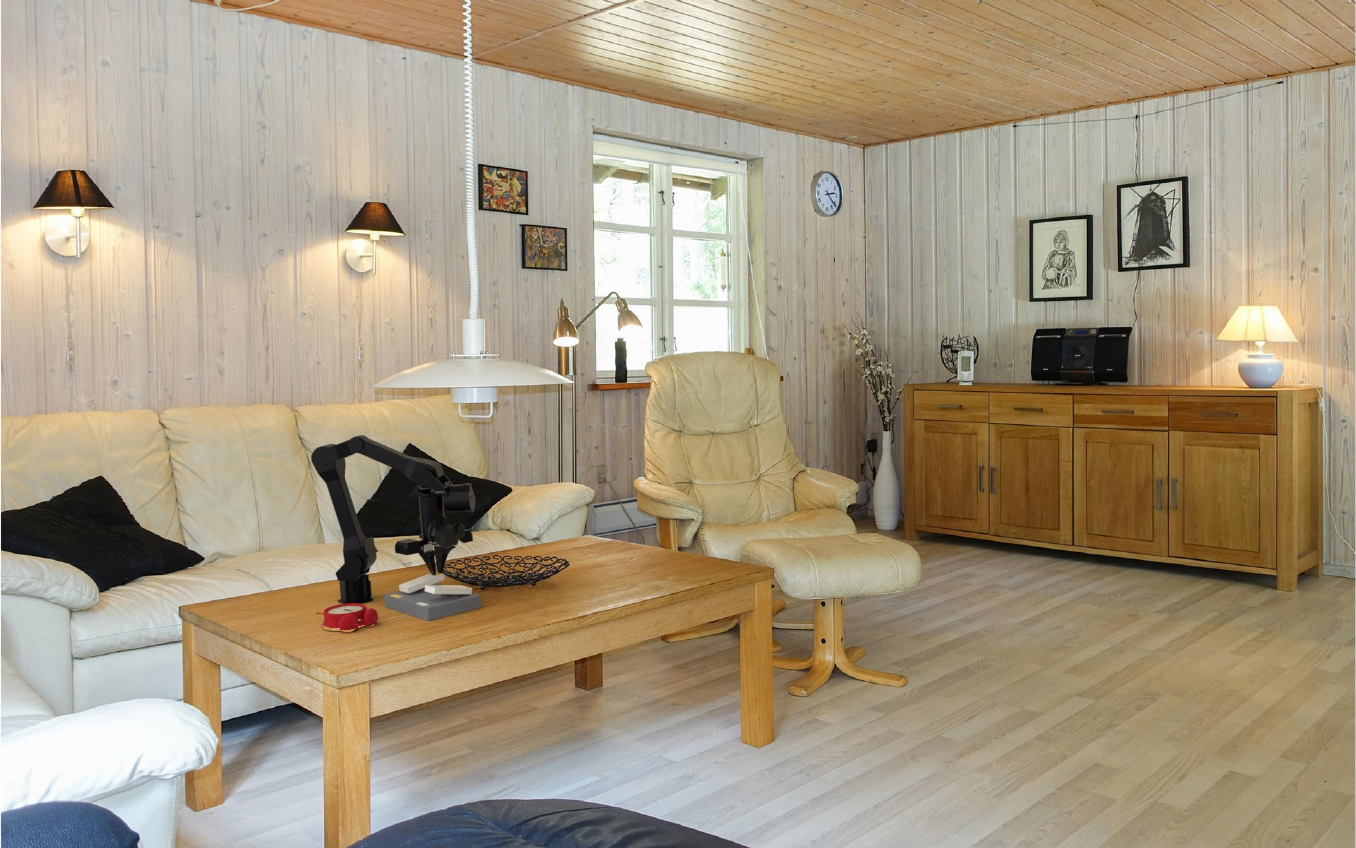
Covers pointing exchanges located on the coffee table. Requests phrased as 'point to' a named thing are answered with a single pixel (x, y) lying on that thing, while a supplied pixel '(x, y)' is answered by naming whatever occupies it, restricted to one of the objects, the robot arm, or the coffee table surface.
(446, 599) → the switch box
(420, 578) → the bar
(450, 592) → the bar
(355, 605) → the alarm clock
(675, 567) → the coffee table surface
